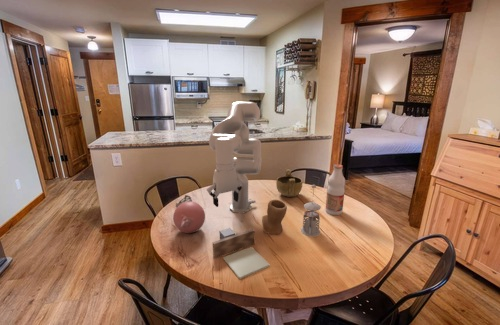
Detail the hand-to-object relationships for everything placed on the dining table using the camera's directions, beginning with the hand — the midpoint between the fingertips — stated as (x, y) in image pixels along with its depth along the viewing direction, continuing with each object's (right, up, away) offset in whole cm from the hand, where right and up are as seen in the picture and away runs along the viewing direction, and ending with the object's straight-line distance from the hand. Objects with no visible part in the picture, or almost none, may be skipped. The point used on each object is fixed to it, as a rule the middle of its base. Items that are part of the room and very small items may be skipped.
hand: (226, 203), depth 115 cm
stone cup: (+23, -16, +18) cm, 33 cm away
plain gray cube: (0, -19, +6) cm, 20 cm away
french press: (+41, -17, +14) cm, 46 cm away
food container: (-25, -12, +31) cm, 41 cm away
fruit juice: (+59, -11, +35) cm, 69 cm away
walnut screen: (+4, -21, 0) cm, 21 cm away
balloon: (-20, -17, +13) cm, 29 cm away
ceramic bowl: (+36, -4, +57) cm, 68 cm away
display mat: (+9, -23, -8) cm, 26 cm away
